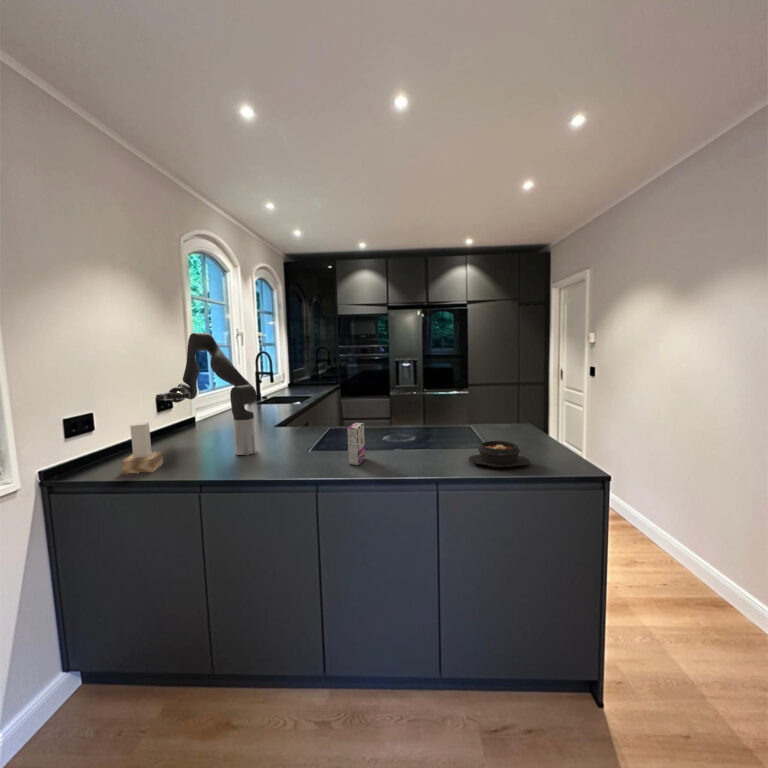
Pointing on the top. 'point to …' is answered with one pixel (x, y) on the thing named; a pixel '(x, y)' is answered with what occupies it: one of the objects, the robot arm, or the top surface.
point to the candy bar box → (356, 442)
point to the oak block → (142, 463)
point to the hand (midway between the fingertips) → (169, 397)
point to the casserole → (499, 455)
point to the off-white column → (141, 440)
